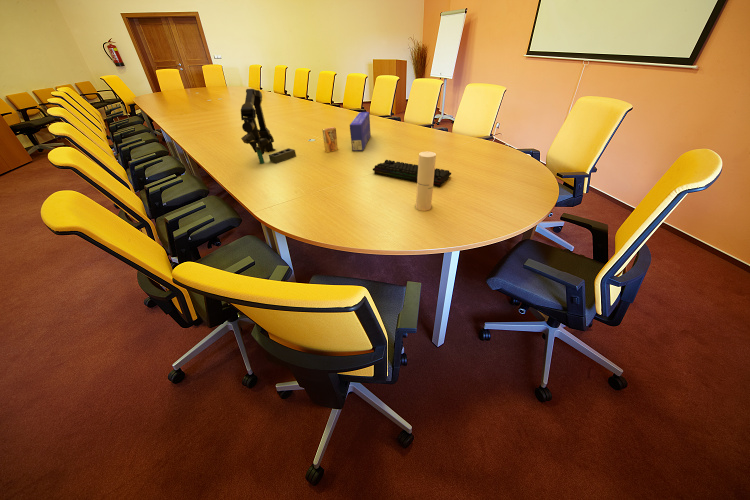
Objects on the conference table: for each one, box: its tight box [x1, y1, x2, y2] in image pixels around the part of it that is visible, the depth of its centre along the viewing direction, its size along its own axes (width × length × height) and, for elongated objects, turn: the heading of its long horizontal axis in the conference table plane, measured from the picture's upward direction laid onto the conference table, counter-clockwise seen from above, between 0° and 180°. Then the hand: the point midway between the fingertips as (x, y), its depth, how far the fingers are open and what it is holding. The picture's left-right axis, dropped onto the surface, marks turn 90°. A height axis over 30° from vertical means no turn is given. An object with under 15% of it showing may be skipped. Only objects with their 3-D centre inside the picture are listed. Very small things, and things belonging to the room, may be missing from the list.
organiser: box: [268, 147, 297, 164], centre depth 197 cm, size 7×17×4 cm, turn 142°
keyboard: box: [372, 159, 452, 188], centre depth 165 cm, size 42×16×5 cm, turn 58°
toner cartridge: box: [349, 111, 372, 152], centre depth 215 cm, size 39×8×18 cm, turn 172°
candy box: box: [322, 126, 339, 153], centre depth 205 cm, size 9×4×15 cm, turn 129°
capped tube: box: [255, 146, 265, 165], centre depth 190 cm, size 3×3×10 cm
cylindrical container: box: [415, 151, 437, 212], centre depth 129 cm, size 7×7×25 cm
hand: (259, 153), depth 189 cm, fingers open, 7 cm apart
